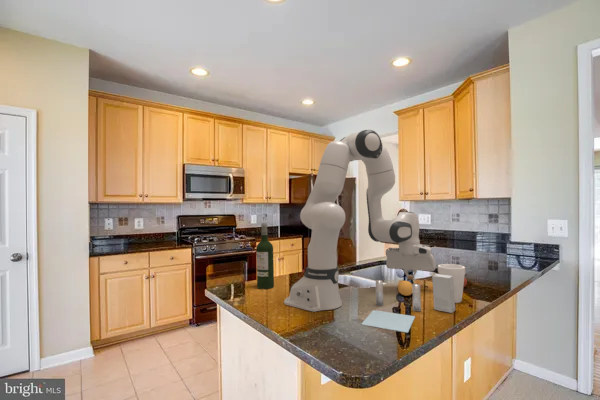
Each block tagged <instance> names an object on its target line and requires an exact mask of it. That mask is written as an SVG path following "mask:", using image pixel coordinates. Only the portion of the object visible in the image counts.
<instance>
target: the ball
mask: <svg viewBox="0 0 600 400" xmlns="http://www.w3.org/2000/svg"><path fill="white" fill-rule="evenodd" d="M412 284H413V283H412V282H410V280H401V281H400V282H399V283H398V285H397V290H398V292H399V293H400V294H401V295H402V296H405V297H407V296H411V295H413V293H412Z"/></svg>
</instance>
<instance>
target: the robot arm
mask: <svg viewBox="0 0 600 400" xmlns="http://www.w3.org/2000/svg"><path fill="white" fill-rule="evenodd" d="M354 161H362V162H363V164H364V166H365V170H366V171H365V172H366V176H367V188H366V193H365V194H366V195H365V196H366V206H367V215H368V226H367V227H368V229H367V233H368V235H369V238H370V239H371V240H372V241H374V242H378V243H379V242H382V243H384V242H385V243H392V244H398V247H388V248H387V249H386V250H385V255H386V260H385V263H386V268H387V269H393V270H403V272H404V274H405V276H406V281H415V276H416V274H417V273H418V271H420V272H421V271H422V272H423V271H424V272H425V271H426V272H434V271H435V270H436V261H435V256H434V254H432V247H430V246H428V245H424V244H421V243H420V242H421V240H420V237H419V235H420V225H419V224H420V223H419V217H418V215H417V213H415V212H413V211H400V212H398V214H397V216H395V217H394V218H392V219H384V218H383V212H382V203H381V202H382V198H383V197H384V196H385V194H387V193H388V192H390V191H391V190H392V189H393V188H394V186H395V183H396V174H395V169H394V166H393V165H394V164H393V162H392V161H393V160H392V158H391V155H390V153H389V151H388V149H387V148H386V147H385V146H383V142H382V139H381V137H380V135H379V134H378V133H377V132H376V131H375V130H372V129H364V130H361V131H357V132H354V133H351V134H349V135H347V136H345V137H343V138H341V139H340V140H332V141H330V142H329V143H328V144H327V146H326V147H325V149H324V151H323V154H322V157H321V160H320V162H319V166H318V170H317V174H316V176H315V177H316V178H315V181H314V185H313V187H312V189H311V191H310V193H309V195H308V198H307V200H306V203H305V205H304V206H303V208H302V209H301V211H300V214H299V216H300V217H299V218H300V221H301V222H302V224H303V225H304V226H305V227H306V228H308V229H310V230H311V237H310V242H309V244H308V246H307V267H304V268H303V269H302V272H301V273H304V274H303V277H301V278H300V279H299V280H297V281H296V282H295V283H294V284H293V285H292V286H291V288H290V291H289V296H287V297H285V299H284V300H283V304H284V305H285V306H286V305H287V306H289V307H295V308H297V309H301V310H305V311H308V312H320V311H328V310H335V309H338V308H340V307H342V306H343V301H342V298H341V293H340V288H339V280H340V279H339V267H338V253H337V251H338V249H337V247H338V242H339V241H338V240H339V236H340V232H341V229H342V228H343V226H344V224H345V222H346V212H345V210H344V209H343V208H342V206H341V205H339V204H338V203H336V201H337V199H338V197H339V196H340V194H342V192H343V190H344V185H345V181H346V177H347V173H348V169H349V165H350V163H351V162H354ZM408 271H412V273H413V274H409V272H408Z"/></svg>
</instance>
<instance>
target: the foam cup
mask: <svg viewBox="0 0 600 400" xmlns="http://www.w3.org/2000/svg"><path fill="white" fill-rule="evenodd" d="M437 273H438V274H441V275H449V276H453V280H454V296H455V304H459V303H461V302H462V300H463V293H464V287H463V285H464V276H465V274H466V267H465V266H464V265H460V264H454V263H443V264H438V265H437ZM465 277H466V276H465Z"/></svg>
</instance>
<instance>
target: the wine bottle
mask: <svg viewBox="0 0 600 400" xmlns="http://www.w3.org/2000/svg"><path fill="white" fill-rule="evenodd" d="M260 226H261V235H260V236H261V239H260V241H259V242H258V243H257V245H256V246H255V247H256V249H255V250H256V283H257V285H256V287H257V288H258V289H259V290H269V289H273V288H274V287H275V275H274V274H275V273H274V272H275V271H274V246H273V243H272V242H270V240H269V237H268V223H267V222H263V223H261V225H260Z"/></svg>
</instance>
